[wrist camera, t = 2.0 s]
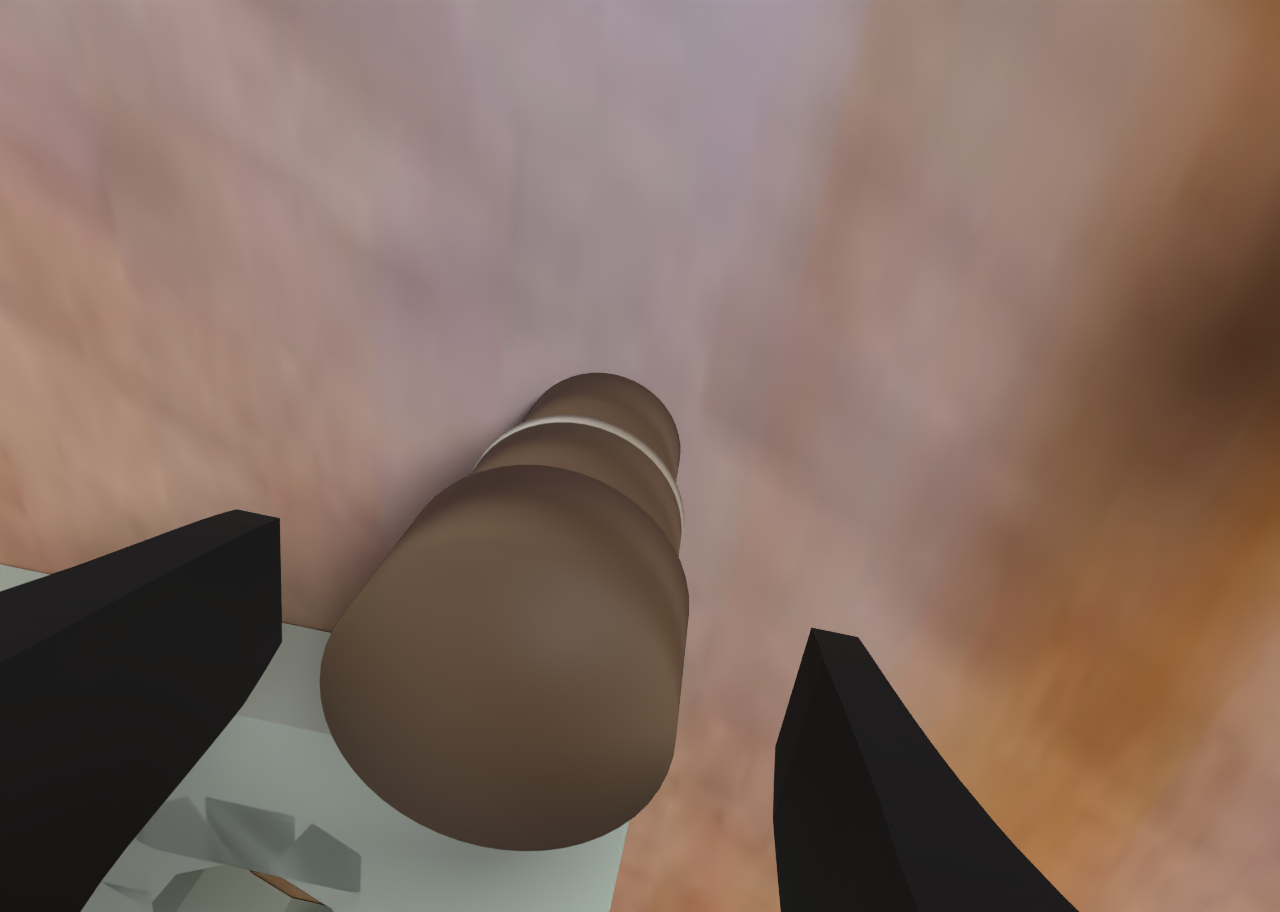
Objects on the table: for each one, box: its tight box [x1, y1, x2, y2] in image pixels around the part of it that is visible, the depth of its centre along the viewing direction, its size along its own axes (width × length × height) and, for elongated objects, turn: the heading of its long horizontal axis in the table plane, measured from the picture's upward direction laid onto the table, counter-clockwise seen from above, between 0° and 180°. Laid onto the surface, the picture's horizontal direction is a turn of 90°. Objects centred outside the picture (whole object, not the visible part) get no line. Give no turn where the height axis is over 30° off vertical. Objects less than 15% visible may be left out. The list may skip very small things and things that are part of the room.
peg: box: [319, 373, 689, 851], centre depth 13 cm, size 4×4×8 cm
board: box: [0, 564, 629, 912], centre depth 21 cm, size 16×14×3 cm
